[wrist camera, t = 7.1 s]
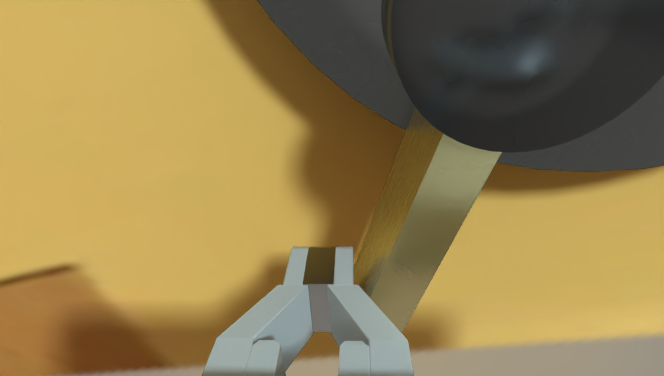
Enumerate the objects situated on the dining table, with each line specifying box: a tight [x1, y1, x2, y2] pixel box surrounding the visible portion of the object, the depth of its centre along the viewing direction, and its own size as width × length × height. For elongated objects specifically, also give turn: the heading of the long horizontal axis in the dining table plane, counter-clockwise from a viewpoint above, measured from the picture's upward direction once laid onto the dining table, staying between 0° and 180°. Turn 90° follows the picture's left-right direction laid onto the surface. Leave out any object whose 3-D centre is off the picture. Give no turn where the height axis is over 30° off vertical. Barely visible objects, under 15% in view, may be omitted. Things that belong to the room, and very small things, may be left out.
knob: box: [353, 0, 664, 333], centre depth 9 cm, size 12×5×3 cm, turn 166°
